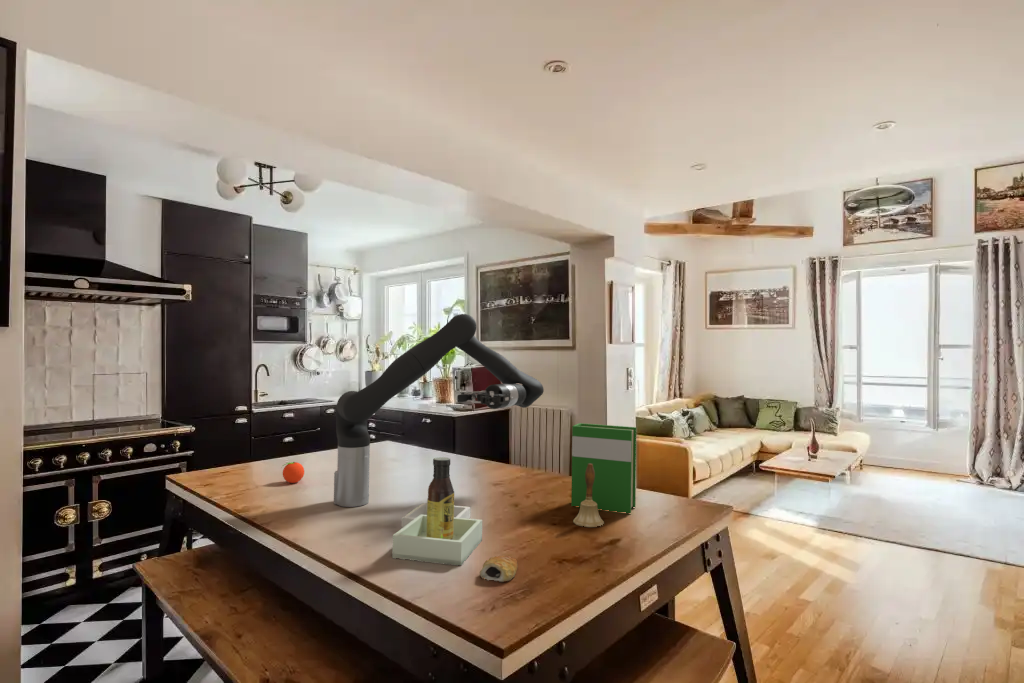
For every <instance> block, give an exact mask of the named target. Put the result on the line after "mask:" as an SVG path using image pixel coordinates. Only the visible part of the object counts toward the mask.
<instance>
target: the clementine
mask: <svg viewBox="0 0 1024 683" xmlns="http://www.w3.org/2000/svg"><path fill="white" fill-rule="evenodd" d="M282 467H283V470H282V477H283V479H284V480H285V482H287V483H291V484H295V483H298V482H300V481H301V480H302V479H303V477H304V475H305V468H304V466H303V465H302V463H300V462H295V461H293V462H287V463H285V464H283V465H282Z"/></svg>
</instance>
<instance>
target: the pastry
mask: <svg viewBox="0 0 1024 683" xmlns="http://www.w3.org/2000/svg"><path fill="white" fill-rule="evenodd" d="M517 571H518V561H517V559H516V558H514V557H511V556H509V555H506V554H504V555H497V556H491V557H489V559H487V560H485V562H484V563H483V564H482V568H481V570H480V571H479V576H480V577H481V578H482V579H483V578H485V579H487V580H486V581H489V580H494V581H493V582H497V581H499V583H504V581H507V582H509V581H511V580H512V579H513V578H515V576H516V573H517ZM485 579H484V580H485Z"/></svg>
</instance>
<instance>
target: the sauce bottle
mask: <svg viewBox="0 0 1024 683" xmlns="http://www.w3.org/2000/svg"><path fill="white" fill-rule="evenodd" d="M450 465H451V458H450V457H446V456H443V457H441V456H440V457H435V458H433V460H432V466H433V475H432V476H433V478H432V480H431V482H430V483H429V486H428V489H427V501H426V503H427V532H426V537H430V538H440V539H450V540H452V539H453V529H454V506H455V490H454V487H453V484H452V481H451V475H450Z"/></svg>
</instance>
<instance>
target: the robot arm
mask: <svg viewBox="0 0 1024 683" xmlns="http://www.w3.org/2000/svg"><path fill="white" fill-rule="evenodd" d="M476 332H477V322H476V320H475V318H474V317H473V316H471V315H470V314H467V313H461V314H457V315H455V316H453V317H452V318H451V319H450V320H449V321H448V322H447V323H446V324H445V325H443V327H441V328H440V329H438V330H437V332H436V333H434V334H433V335H431V336H429V337H428V338H426V339H424V340H422V341H420V342H419V343H417V344H416V345H414V346H413V347H411V348H410V349H407V351H405V352H404V353H402V354H401V355H399V357H397V358H396V359H395V360H393V361H392V362H391V363H390V365H388V366H387V368H386V369H384V371H383V373H382V374H380V376H379V377H378V378H377V379H376V380H374V381H373V382H372V383H370V384H368V385H367V386H365V387H364V388H362V389H360V390H359V391H358V390H357V391H356V390H350V391H346V392H344V393H342V394H341V396H340V397H339V398H338V399H337V403H336V407H335V408H336V409H335V411H336V413H335V420H336V422H335V425H336V426H335V428H336V433H335V434H336V438H337V464H336V465H337V466H336V467H337V469H336V470H335V471H334V473H333V474H334V475H333V504H334V505H337V506H339V507H344V508H345V507H347V508H349V507H350V508H352V507H353V508H354V507H360V506H364V505H367V504H368V503H369V501H370V457H371V456H370V455H371V454H370V452H371V451H370V450H371V449H370V448H371V447H370V446H371V436H370V434H369V430H368V420H369V419H370V418H371V417H372V416H373V415H375V413H377V412H378V411H379V410H380V409H381V408H382V407H383V406H384V405H385V404H386V403H387V402H388V401H390V400H391V399H393V398H394V397H395V396H397V395H398V394H400V393H402V392H403V391H404V390H405V389H407V388H408V387H410V386H411V385H412V384H414V383H415V382H417V381H418V380H420V379H421V378H422V377H423V376H424V375H426V374H427V373H429V371H431V369H432V368H434V367H435V366H436V365H437V364H438V363H439V362H440V361H441V360H442V359H443V358H444V357H445V356H446V355H447V354H448V353H449V352H451V351H453V350H454V349H455V348H458V349H459V350H461V351H462V352H463V353H465V354H467V355H468V356H469V357H471V358H472V359H474V360H475V361H476V362H477V363H479V364H480V365H482V366H483V368H485V369H486V370H487V371H488V372H489V373H491V374H492V375H493V376H494V377H495V378H496V379H497V380H498V381H499V382H500V383H498V384H497V383H496V384H490V385H488V386H487V387H486V388H485V389H484V390H481V391H469V392H468V391H467V392H461V393H460V394H457V403H467V402H470V403H472V404H481V405H486V406H487V407H488V408H489V409H492V410H499V409H505V408H509V407H510V408H511V407H512V406H518V407H520V408H523V409H526V408H528V407H531V405H532V404H533V403H534V402H536V401H537V400H538V399H539V398H540V397H541V396H542V395H544V390H545V389H544V386H543V384H542V383H541V381H539V379H537V378H536V377H533V376H531V375H529V374H527V373H526V372H524V371H522V370H520V369H518V368H517V367H516V365H514V364H513V363H512V362H510V361H509V360H508V359H507V358H506V357H505V356H504V355H502V354H500V353H498V352H497V351H495V350H493V349H491V348H490V347H488V346H486V345H485V344H483V342H481V341H480V340H479V339H478V338H477V337H476V336H475V334H476Z"/></svg>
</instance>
